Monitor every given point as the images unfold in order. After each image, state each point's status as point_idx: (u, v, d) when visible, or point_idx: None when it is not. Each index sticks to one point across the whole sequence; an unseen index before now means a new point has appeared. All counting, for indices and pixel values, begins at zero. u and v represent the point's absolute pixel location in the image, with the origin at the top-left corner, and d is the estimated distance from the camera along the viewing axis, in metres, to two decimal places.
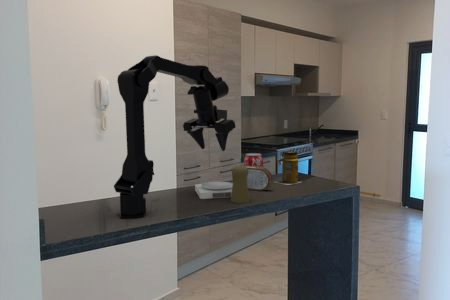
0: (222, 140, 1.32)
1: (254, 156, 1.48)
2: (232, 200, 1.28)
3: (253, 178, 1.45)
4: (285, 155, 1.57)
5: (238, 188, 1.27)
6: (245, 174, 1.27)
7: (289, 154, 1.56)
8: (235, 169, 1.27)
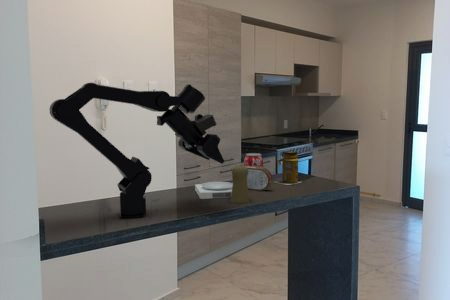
0: (214, 156, 1.18)
1: (254, 156, 1.48)
2: (232, 200, 1.28)
3: (253, 178, 1.45)
4: (285, 155, 1.57)
5: (238, 188, 1.27)
6: (245, 174, 1.27)
7: (289, 154, 1.56)
8: (235, 169, 1.27)
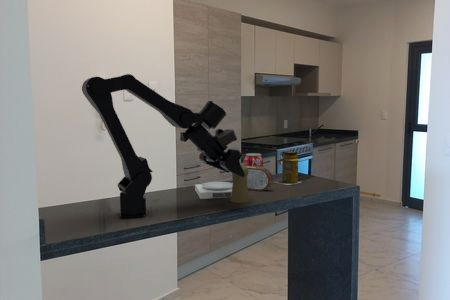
0: (235, 171, 1.21)
1: (254, 156, 1.48)
2: (232, 200, 1.28)
3: (253, 178, 1.45)
4: (285, 155, 1.57)
5: (238, 188, 1.27)
6: (245, 174, 1.27)
7: (289, 154, 1.56)
8: None
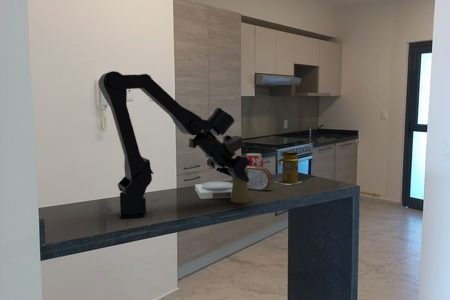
0: (240, 176, 1.25)
1: (254, 156, 1.48)
2: (232, 200, 1.28)
3: (253, 178, 1.45)
4: (285, 155, 1.57)
5: (238, 188, 1.27)
6: None
7: (289, 154, 1.56)
8: None
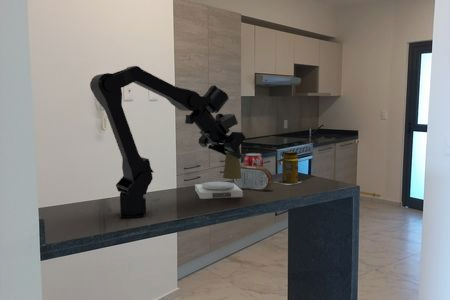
0: (234, 152, 1.28)
1: (254, 156, 1.48)
2: (225, 176, 1.32)
3: (253, 178, 1.45)
4: (285, 155, 1.57)
5: (232, 164, 1.31)
6: None
7: (289, 154, 1.56)
8: None
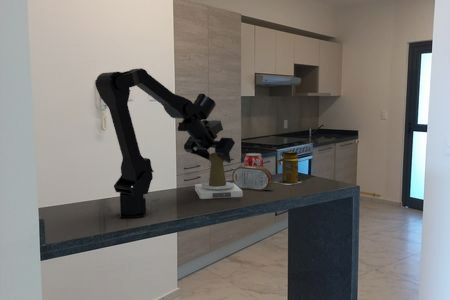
0: (225, 157, 1.34)
1: (254, 156, 1.48)
2: (212, 184, 1.38)
3: (253, 178, 1.45)
4: (285, 155, 1.57)
5: (218, 172, 1.37)
6: None
7: (289, 154, 1.56)
8: (214, 155, 1.37)
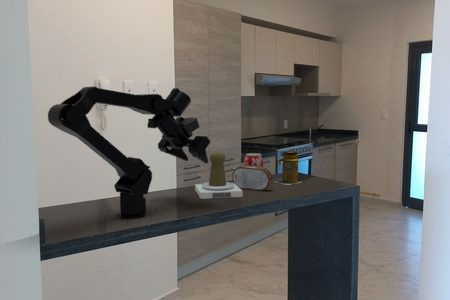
0: (201, 157, 1.24)
1: (254, 156, 1.48)
2: (212, 184, 1.38)
3: (253, 178, 1.45)
4: (285, 155, 1.57)
5: (218, 173, 1.37)
6: (223, 159, 1.38)
7: (289, 154, 1.56)
8: (214, 155, 1.37)
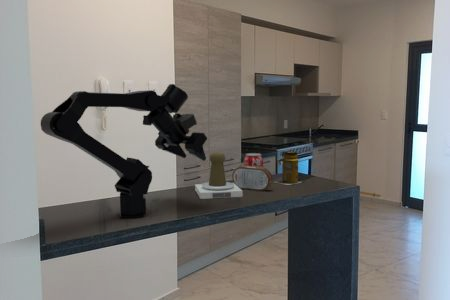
0: (199, 154, 1.22)
1: (254, 156, 1.48)
2: (212, 184, 1.38)
3: (253, 178, 1.45)
4: (285, 155, 1.57)
5: (218, 173, 1.37)
6: (223, 159, 1.38)
7: (289, 154, 1.56)
8: (214, 155, 1.37)
